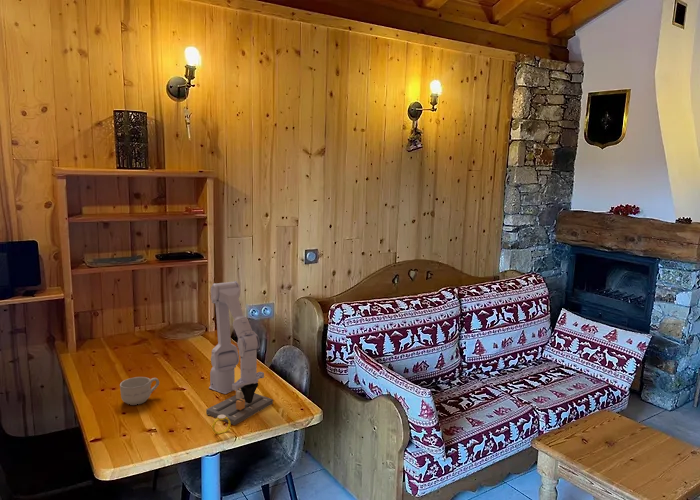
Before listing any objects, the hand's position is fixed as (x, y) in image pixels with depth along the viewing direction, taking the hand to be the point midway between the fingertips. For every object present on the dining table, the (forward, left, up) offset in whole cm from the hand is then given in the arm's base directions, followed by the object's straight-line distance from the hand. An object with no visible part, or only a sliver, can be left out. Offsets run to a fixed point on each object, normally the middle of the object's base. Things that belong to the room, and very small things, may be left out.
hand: (248, 402), depth 192 cm
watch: (+4, -17, -3) cm, 18 cm away
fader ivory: (-6, +2, -1) cm, 6 cm away
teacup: (-38, -18, -3) cm, 42 cm away
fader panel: (-3, -1, -3) cm, 4 cm away
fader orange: (0, -4, -1) cm, 4 cm away
